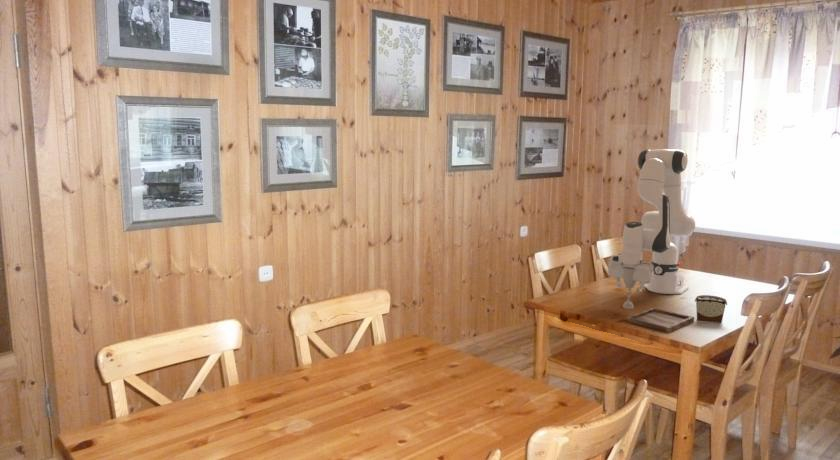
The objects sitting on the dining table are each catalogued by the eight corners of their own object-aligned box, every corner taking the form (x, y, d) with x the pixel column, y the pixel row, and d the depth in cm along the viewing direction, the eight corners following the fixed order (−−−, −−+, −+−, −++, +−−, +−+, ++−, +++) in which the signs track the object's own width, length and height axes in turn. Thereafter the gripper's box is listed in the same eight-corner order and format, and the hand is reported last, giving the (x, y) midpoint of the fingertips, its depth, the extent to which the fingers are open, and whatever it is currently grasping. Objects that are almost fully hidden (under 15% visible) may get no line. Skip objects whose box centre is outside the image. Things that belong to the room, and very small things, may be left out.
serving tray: (652, 312, 272) (653, 307, 271) (693, 321, 259) (694, 317, 258) (626, 322, 257) (627, 317, 257) (668, 332, 244) (669, 327, 244)
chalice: (634, 305, 282) (637, 266, 279) (638, 309, 275) (641, 269, 272) (618, 304, 283) (620, 265, 280) (621, 308, 276) (624, 269, 273)
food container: (723, 319, 262) (725, 296, 260) (725, 323, 256) (727, 300, 255) (691, 316, 266) (693, 293, 264) (693, 320, 260) (694, 297, 259)
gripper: (657, 261, 270) (655, 292, 272) (614, 254, 285) (612, 283, 287) (650, 263, 266) (648, 295, 268) (607, 256, 281) (605, 286, 283)
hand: (629, 289), depth 278 cm, fingers open, 8 cm apart
